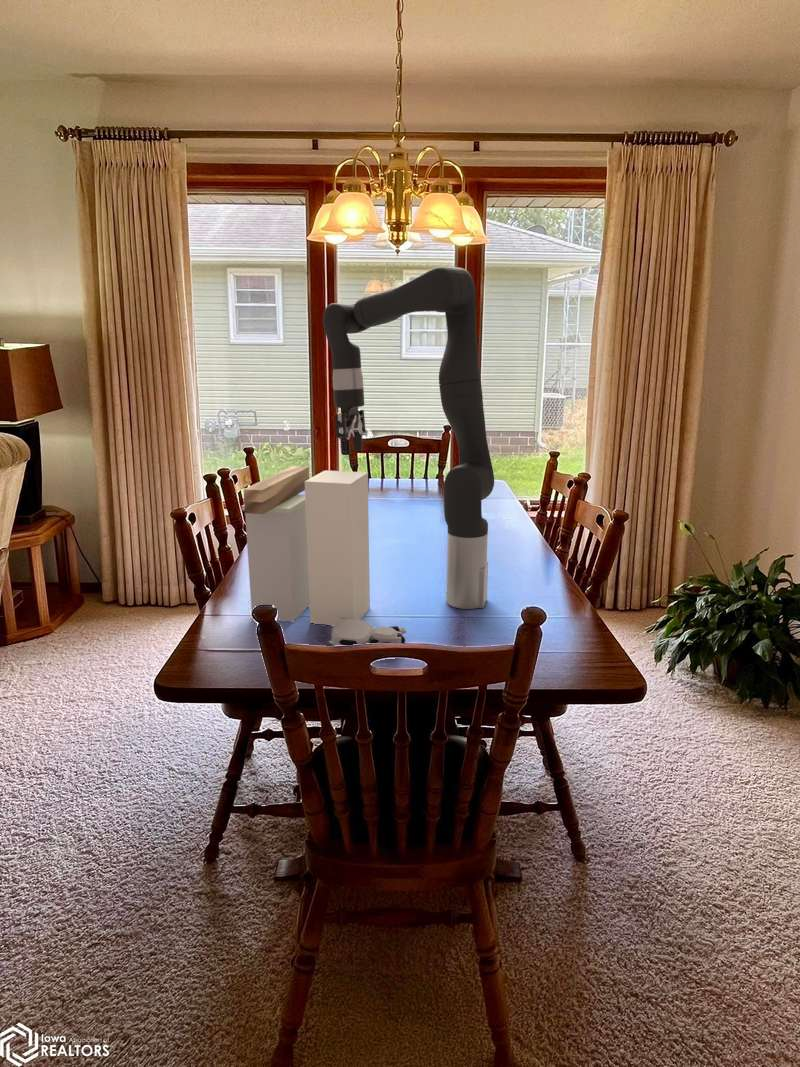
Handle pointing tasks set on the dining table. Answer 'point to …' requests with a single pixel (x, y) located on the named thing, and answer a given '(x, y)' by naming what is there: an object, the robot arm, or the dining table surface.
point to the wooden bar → (275, 490)
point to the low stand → (279, 558)
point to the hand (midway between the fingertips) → (352, 452)
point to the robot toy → (364, 633)
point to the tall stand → (337, 546)
